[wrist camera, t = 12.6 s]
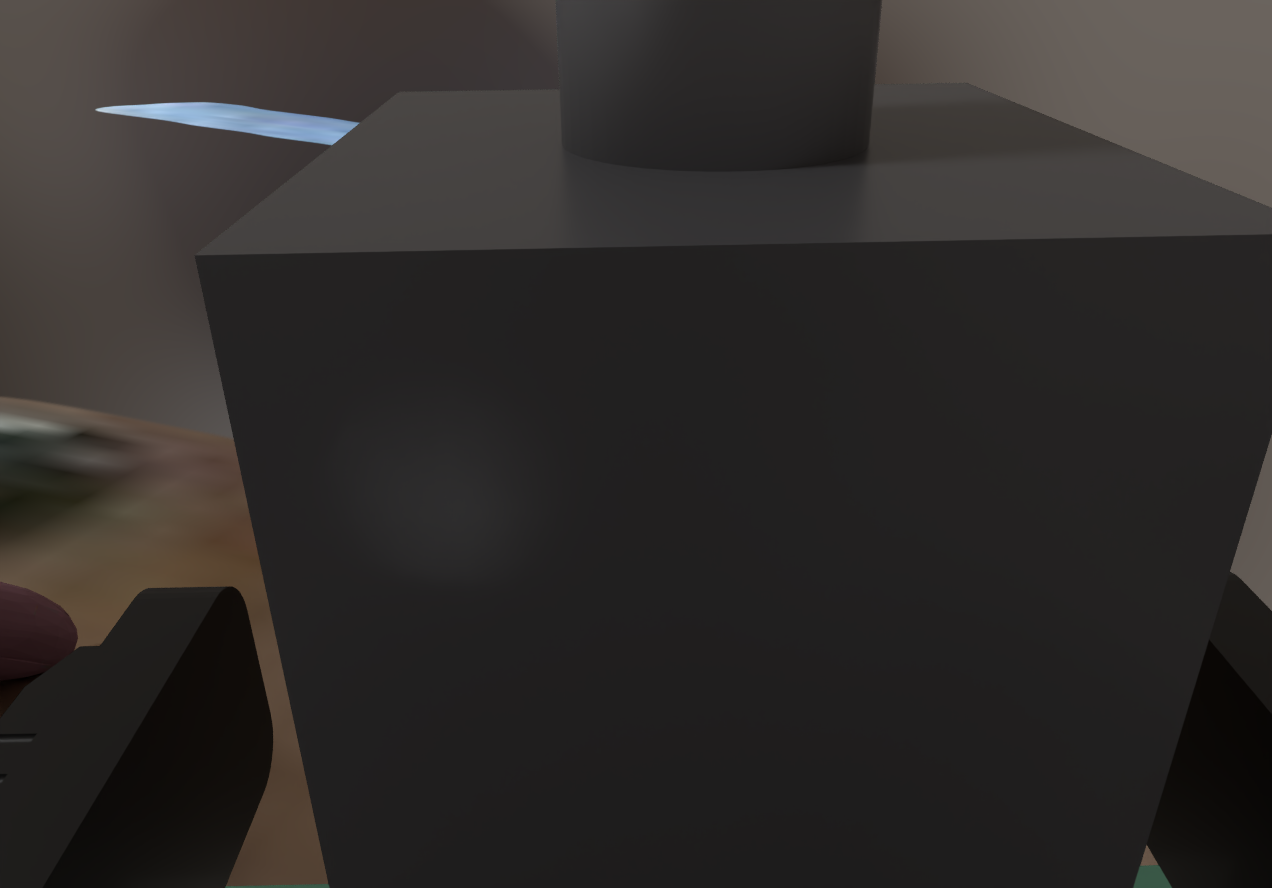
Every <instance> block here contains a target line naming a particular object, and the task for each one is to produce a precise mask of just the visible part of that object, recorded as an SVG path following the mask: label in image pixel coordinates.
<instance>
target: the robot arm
mask: <svg viewBox="0 0 1272 888" xmlns="http://www.w3.org/2000/svg"><path fill="white" fill-rule="evenodd" d="M272 752H273V727H272V719H271V713H270V709H269V704H268V700H267V696H266V691H265V687H264V682H263V678H262V673H261V669H260V665H259V660H258V656H257V651H256V647H255V642H254V638H253V634H252V629H251V625H250V620H249V616H248V611H247V608H246V604H245V601H244V599H243V597H242V595H241V593H240V592H239V591H238V590H237V589H236V588H234V587H184V588H147V589H145V590H143V591H141V592H140V593H139V594H138V595H137V596H136V597H135V598H134V600H133V601H132V602H131V604H130V605H129V607H128V608H127V609H126V611H125V612H124V614H123V615H122V616H121V618H120V619H119V620H118V622H117V623H116V625H115V626H114V627H113V629H112V630H111V632H110V633H109V634H108V636H107V637H106V638H105V640H104V641H103V643H102V644H101V645H100V646H83V647H79V648H77V649H76V650H75V651H73V652H72V653H71V654H69V655H68V656H66V657H65V658H64V659H62V660H61V661H60V662H58V663H57V664H55V665H54V666H53V667H51V668H50V669H49V670H47V671H46V672H45V673H43V674H42V675H40V676H39V677H38V678H36V679H35V680H34V681H32V682H31V683H29V684H28V685H27V686H25V687H24V689H23V690H22V691H21V692H20V694H19V695H18V696H17V697H16V699H15V700H14V701H13V703H12V704H11V705H10V706H9V708H8V709H7V710H6V712H5V713H4V714H3V715H2V717H1V718H0V888H225V886H226V884H227V881H228V879H229V876H230V874H231V872H232V869H233V867H234V864H235V862H236V859H237V857H238V854H239V852H240V850H241V847H242V845H243V842H244V840H245V837H246V835H247V832H248V830H249V828H250V825H251V823H252V820H253V818H254V815H255V813H256V810H257V808H258V805H259V803H260V801H261V798H262V796H263V793H264V791H265V788H266V785H267V781H268V778H269V773H270V768H271V761H272ZM1147 846H1148V847H1149V849H1150V851H1151V853H1152V854H1153V856H1154V858H1155V859H1156V861H1157V863H1158V865H1159V866H1160V868H1161V870H1162V872H1163V873H1164V875H1165V877H1166V878H1167V880H1168V882H1169V884H1170V885H1171V887H1172V888H1272V611H1271V610H1270V609H1269V608H1268V607H1267V606H1266V605H1265V604H1264V603H1263V602H1262V601H1261V600H1260V599H1259V597H1258V596H1256V594H1255V593H1254V592H1253V591H1252V590H1251V589H1250V588H1249V587H1248V586H1247V585H1246V584H1245V583H1244V582H1243V581H1242V580H1241V579H1240V578H1239V577H1237V576H1236V575H1235V574H1233V573H1231V572H1229V576H1228V579H1227V582H1226V585H1225V589H1224V592H1223V595H1222V599H1221V602H1220V605H1219V608H1218V612H1217V615H1216V618H1215V622H1214V625H1213V628H1212V631H1211V635H1210V638H1209V641H1208V644H1207V648H1206V651H1205V654H1204V658H1203V661H1202V664H1201V667H1200V671H1199V674H1198V677H1197V681H1196V684H1195V687H1194V690H1193V694H1192V697H1191V700H1190V703H1189V707H1188V710H1187V713H1186V717H1185V720H1184V723H1183V726H1182V730H1181V733H1180V736H1179V740H1178V743H1177V746H1176V749H1175V753H1174V756H1173V759H1172V762H1171V766H1170V769H1169V772H1168V776H1167V779H1166V782H1165V785H1164V789H1163V792H1162V795H1161V798H1160V802H1159V805H1158V808H1157V812H1156V815H1155V818H1154V821H1153V825H1152V828H1151V831H1150V835H1149V838H1148V841H1147Z"/></svg>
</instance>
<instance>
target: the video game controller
mask: <svg viewBox="0 0 1272 888" xmlns="http://www.w3.org/2000/svg"><path fill="white" fill-rule="evenodd" d="M77 639H78V636H77V629H76V627H75V625H74V623H73V622H72V620H71V618H70V616H69V615H68V614H67V613H66V612H65V610H64V609H63V608H62V607H61V606H59V605H58V604H56V603H54V602H52V601H51V600H49V599H47V598H46V597H44V596H42V595H40V594H38V593H35V592H33V591H31V590H29V589H26V588H22V587H18V586H14V585H10V584H7V583H3V582H0V681H2V680H10V679H18V678H24V677H29V676H33V675H37V674H40V673H44V672H46V671H47V670H49V669H50V668H51V667H53V666H54V665H55V664H57V663H58V662H60V661H61V660H62V659H64V658H65V657H66V656H68V655H69V654H71V653H72V652H73V651H74V649H75V646H76V643H77Z"/></svg>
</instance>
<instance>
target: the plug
mask: <svg viewBox="0 0 1272 888" xmlns="http://www.w3.org/2000/svg"><path fill="white" fill-rule="evenodd" d="M881 8H882V0H556V21H557V42H558V43H557V44H558V65H559V66H558V67H559V90H493V91H435V92H433V91H431V92H398V93H397V94H396V95H395V96H393V97H392V98H391V99H390V100H389V101H387V102H386V103H385V104H383V105H382V106H381V107H380V108H378V109H377V110H376V111H375V112H373V113H372V114H371V115H370V116H368V117H367V118H366V119H365V120H363V121H362V122H361V123H360V124H358V125H357V126H356V127H355V128H353V129H352V130H351V131H350V132H348V133H347V134H346V135H345V136H343V137H342V138H341V139H340V140H338V141H337V142H336V143H335V144H333V145H332V146H331V147H330V148H328V149H327V150H326V151H325V152H323V153H322V154H321V155H320V156H318V157H317V158H316V159H315V160H313V161H312V162H311V163H310V164H308V165H307V166H306V167H305V168H303V169H302V170H301V171H300V172H299V173H297V174H296V175H295V176H294V177H292V178H291V179H290V180H288V181H287V182H286V183H285V184H283V185H282V186H281V187H280V188H278V189H277V190H276V191H275V192H273V193H272V194H271V195H270V196H268V197H267V198H266V199H265V200H263V201H262V202H261V203H260V204H258V205H257V206H256V207H255V208H253V209H252V210H251V211H250V212H248V213H247V214H246V215H245V216H243V217H242V218H241V219H240V220H238V221H237V222H236V223H235V224H233V225H232V226H231V227H230V228H228V229H227V230H226V231H225V232H223V233H222V234H221V235H220V236H218V237H217V238H216V239H215V240H213V241H212V242H211V243H210V244H208V245H207V246H206V247H204V248H203V249H202V250H201V251H199V252H198V253H197V254H196V255H195V259H196V264H197V269H198V273H199V278H200V282H201V287H202V292H203V297H204V301H205V306H206V311H207V316H208V320H209V324H210V329H211V334H212V339H213V344H214V348H215V353H216V358H217V362H218V366H219V372H220V376H221V381H222V386H223V390H224V395H225V400H226V405H227V409H228V414H229V419H230V423H231V428H232V432H233V437H234V442H235V447H236V452H237V456H238V461H239V466H240V470H241V475H242V480H243V484H244V489H245V494H246V498H247V503H248V508H249V513H250V517H251V522H252V527H253V531H254V536H255V541H256V545H257V550H258V555H259V559H260V564H261V569H262V574H263V578H264V583H265V588H266V592H267V597H268V602H269V606H270V611H271V616H272V620H273V625H274V630H275V635H276V639H277V644H278V649H279V653H280V658H281V663H282V667H283V672H284V677H285V681H286V686H287V691H288V696H289V700H290V705H291V710H292V714H293V719H294V724H295V728H296V733H297V738H298V742H299V747H300V752H301V757H302V761H303V766H304V771H305V775H306V780H307V785H308V789H309V794H310V799H311V803H312V808H313V813H314V818H315V822H316V827H317V832H318V836H319V841H320V846H321V850H322V855H323V860H324V864H325V869H326V874H327V879H328V883H329V888H1133V887H1134V884H1135V880H1136V877H1137V874H1138V871H1139V867H1140V864H1141V861H1142V857H1143V854H1144V851H1145V848H1146V844H1147V841H1148V838H1149V835H1150V831H1151V828H1152V825H1153V821H1154V818H1155V815H1156V812H1157V808H1158V805H1159V802H1160V798H1161V795H1162V792H1163V789H1164V785H1165V782H1166V779H1167V776H1168V772H1169V769H1170V766H1171V762H1172V759H1173V756H1174V753H1175V749H1176V746H1177V743H1178V740H1179V736H1180V733H1181V730H1182V726H1183V723H1184V720H1185V717H1186V713H1187V710H1188V707H1189V703H1190V700H1191V697H1192V694H1193V690H1194V687H1195V684H1196V681H1197V677H1198V674H1199V671H1200V667H1201V664H1202V661H1203V658H1204V654H1205V651H1206V648H1207V644H1208V641H1209V638H1210V635H1211V631H1212V628H1213V625H1214V622H1215V618H1216V615H1217V612H1218V608H1219V605H1220V602H1221V599H1222V595H1223V592H1224V589H1225V585H1226V582H1227V579H1228V576H1229V572H1230V569H1231V566H1232V563H1233V559H1234V556H1235V553H1236V549H1237V546H1238V543H1239V539H1240V536H1241V533H1242V530H1243V526H1244V523H1245V520H1246V516H1247V513H1248V510H1249V507H1250V504H1251V500H1252V497H1253V494H1254V490H1255V487H1256V484H1257V481H1258V477H1259V474H1260V471H1261V468H1262V464H1263V461H1264V458H1265V454H1266V451H1267V448H1268V444H1269V441H1270V438H1271V435H1272V208H1271V207H1268V206H1266V205H1263V204H1261V203H1259V202H1256V201H1254V200H1251V199H1248V198H1246V197H1244V196H1241V195H1239V194H1237V193H1234V192H1232V191H1229V190H1227V189H1224V188H1222V187H1220V186H1217V185H1214V184H1212V183H1210V182H1207V181H1205V180H1202V179H1200V178H1198V177H1195V176H1193V175H1190V174H1188V173H1185V172H1183V171H1181V170H1178V169H1175V168H1173V167H1171V166H1168V165H1166V164H1163V163H1161V162H1159V161H1156V160H1154V159H1151V158H1149V157H1146V156H1144V155H1141V154H1139V153H1136V152H1134V151H1132V150H1129V149H1127V148H1124V147H1122V146H1120V145H1117V144H1115V143H1112V142H1110V141H1107V140H1105V139H1102V138H1100V137H1098V136H1095V135H1093V134H1090V133H1088V132H1085V131H1083V130H1081V129H1078V128H1076V127H1073V126H1070V125H1068V124H1066V123H1063V122H1061V121H1058V120H1056V119H1053V118H1051V117H1049V116H1046V115H1044V114H1042V113H1039V112H1037V111H1034V110H1032V109H1029V108H1027V107H1024V106H1022V105H1019V104H1017V103H1015V102H1012V101H1010V100H1007V99H1004V98H1002V97H1000V96H998V95H995V94H993V93H990V92H988V91H985V90H983V89H980V88H978V87H976V86H973V85H971V84H968V83H937V84H878V85H877V84H875V74H876V62H877V52H878V40H879V30H880V19H881Z"/></svg>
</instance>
